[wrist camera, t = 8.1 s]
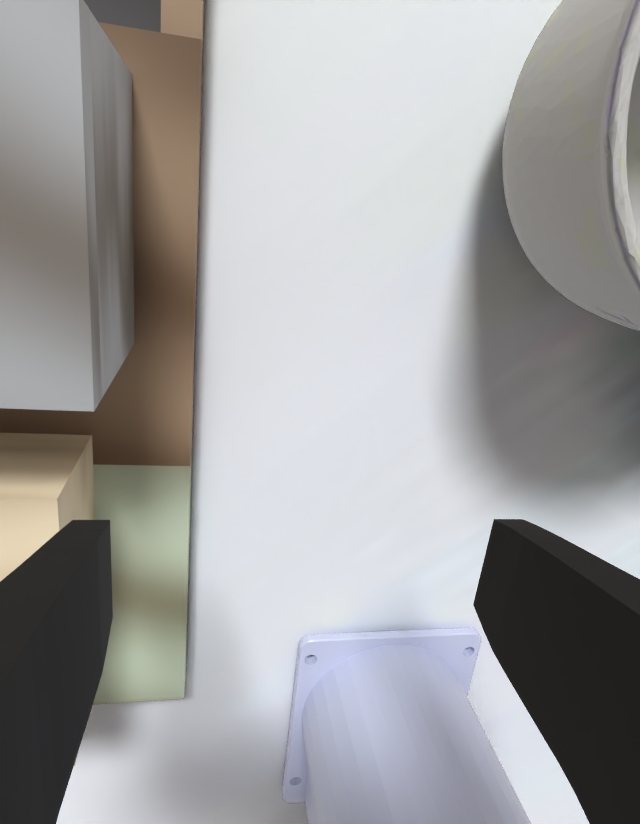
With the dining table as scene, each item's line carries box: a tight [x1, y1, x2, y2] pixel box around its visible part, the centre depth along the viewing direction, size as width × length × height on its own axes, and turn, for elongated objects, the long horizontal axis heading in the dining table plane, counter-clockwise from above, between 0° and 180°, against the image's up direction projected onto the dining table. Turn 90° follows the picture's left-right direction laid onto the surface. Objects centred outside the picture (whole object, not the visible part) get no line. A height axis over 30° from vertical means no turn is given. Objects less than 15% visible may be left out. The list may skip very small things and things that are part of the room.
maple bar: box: [0, 433, 95, 765], centre depth 16 cm, size 9×4×4 cm, turn 174°
